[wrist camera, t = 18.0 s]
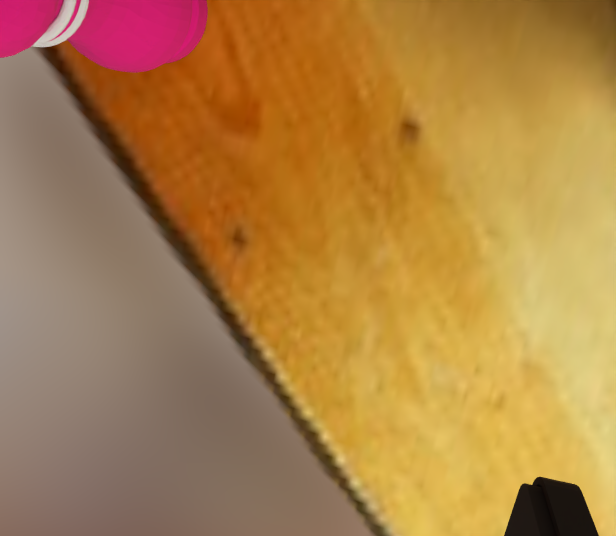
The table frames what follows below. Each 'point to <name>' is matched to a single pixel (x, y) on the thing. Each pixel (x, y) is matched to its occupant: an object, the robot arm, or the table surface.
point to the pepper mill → (106, 29)
